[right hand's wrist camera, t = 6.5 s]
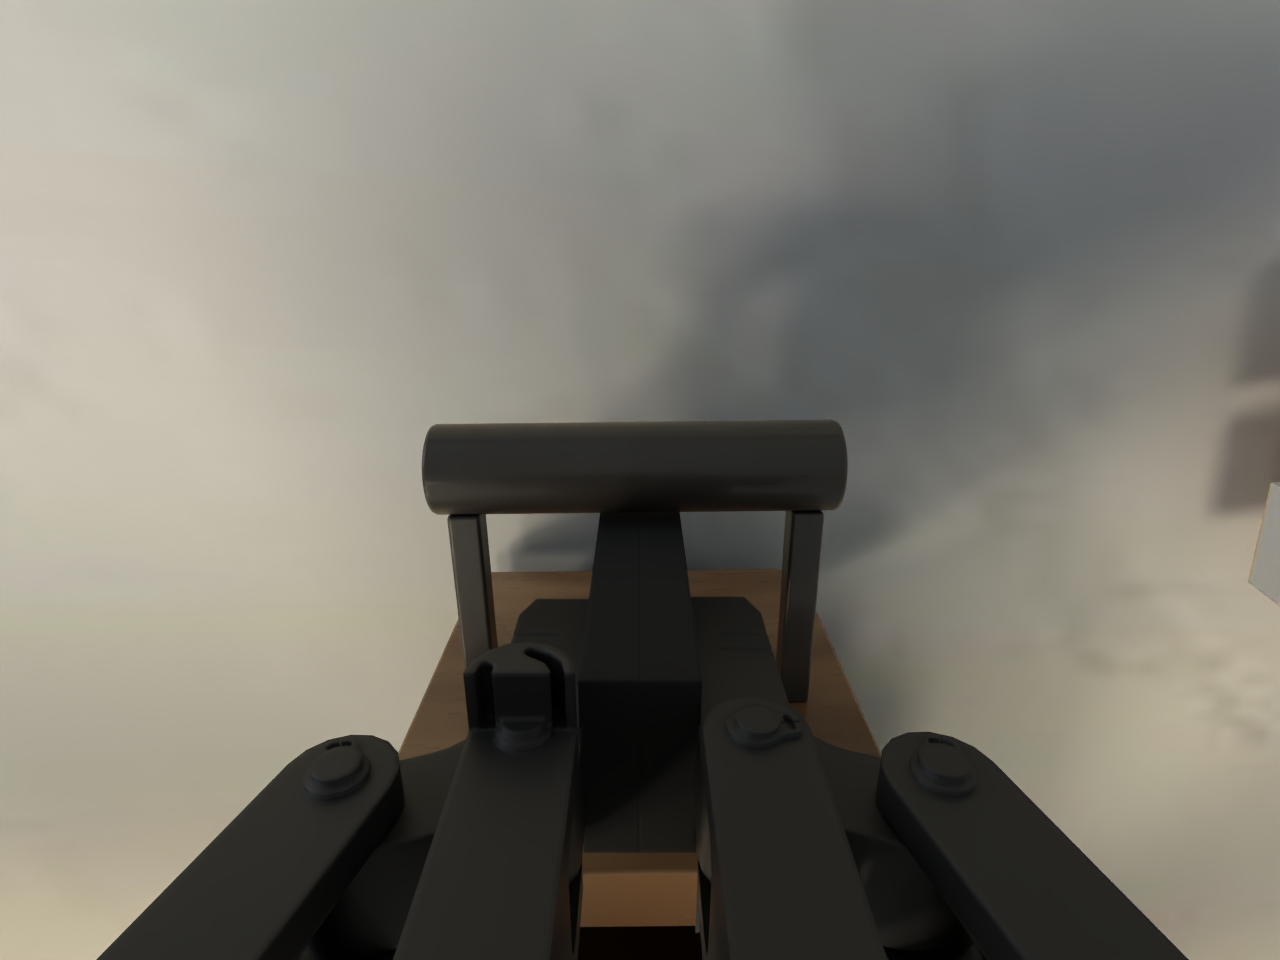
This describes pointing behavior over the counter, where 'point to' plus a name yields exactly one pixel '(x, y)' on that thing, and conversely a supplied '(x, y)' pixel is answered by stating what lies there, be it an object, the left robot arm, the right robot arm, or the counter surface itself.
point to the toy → (1268, 549)
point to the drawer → (492, 601)
